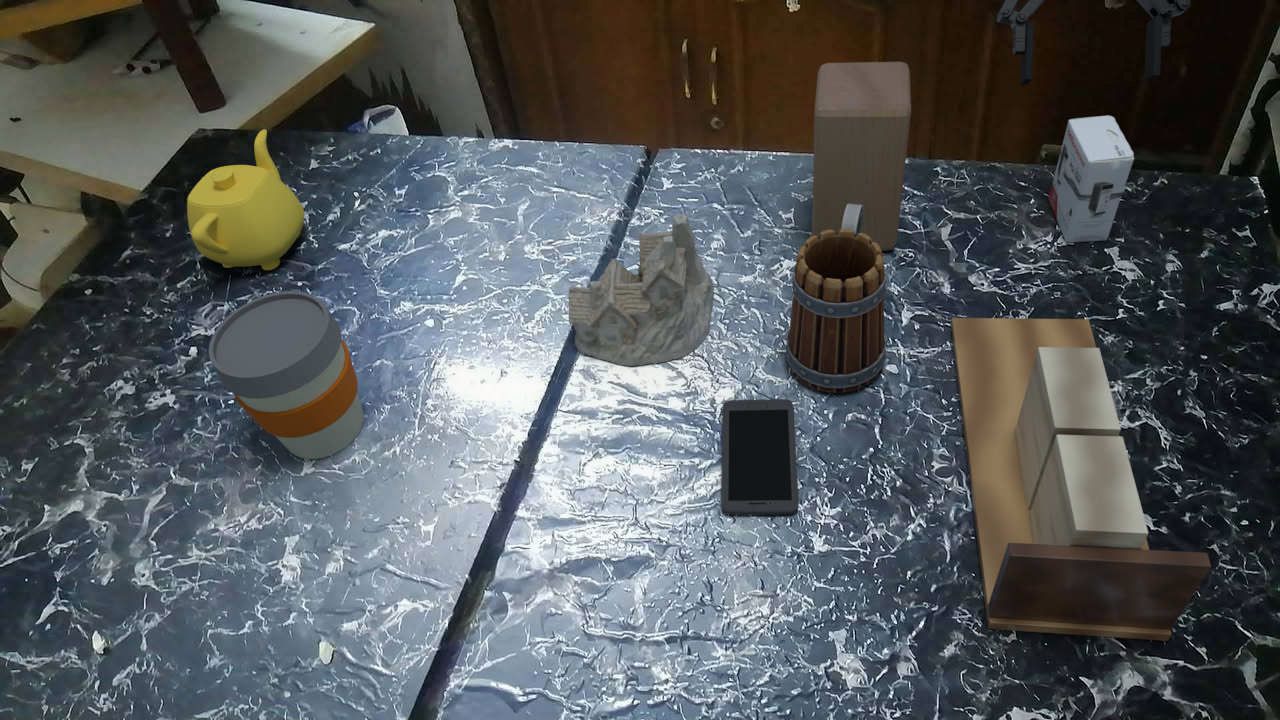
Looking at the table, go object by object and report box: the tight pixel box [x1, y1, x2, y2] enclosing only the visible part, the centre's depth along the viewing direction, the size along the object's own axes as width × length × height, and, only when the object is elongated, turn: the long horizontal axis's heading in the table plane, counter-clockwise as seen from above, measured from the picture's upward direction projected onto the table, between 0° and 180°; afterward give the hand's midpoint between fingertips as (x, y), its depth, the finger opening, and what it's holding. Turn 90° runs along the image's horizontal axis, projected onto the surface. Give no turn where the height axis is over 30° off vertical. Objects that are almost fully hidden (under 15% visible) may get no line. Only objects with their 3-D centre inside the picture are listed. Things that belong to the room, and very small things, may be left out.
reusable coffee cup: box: [208, 290, 365, 460], centre depth 97 cm, size 12×12×15 cm
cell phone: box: [720, 398, 799, 516], centre depth 93 cm, size 7×14×1 cm, turn 176°
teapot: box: [186, 128, 306, 271], centre depth 123 cm, size 13×20×12 cm
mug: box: [785, 204, 887, 393], centre depth 97 cm, size 16×11×15 cm
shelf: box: [950, 317, 1212, 642], centre depth 84 cm, size 14×36×13 cm, turn 172°
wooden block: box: [811, 61, 912, 252], centre depth 108 cm, size 10×10×20 cm
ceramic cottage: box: [567, 213, 715, 367], centre depth 104 cm, size 16×16×15 cm
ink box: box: [1047, 114, 1135, 244], centre depth 107 cm, size 9×5×12 cm, turn 178°
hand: (1088, 80), depth 107 cm, fingers open, 13 cm apart
